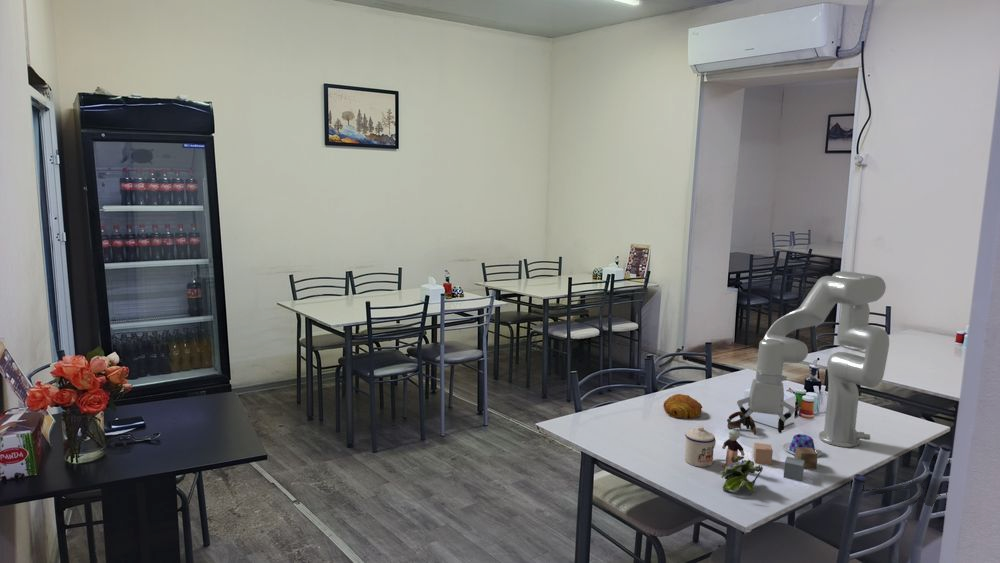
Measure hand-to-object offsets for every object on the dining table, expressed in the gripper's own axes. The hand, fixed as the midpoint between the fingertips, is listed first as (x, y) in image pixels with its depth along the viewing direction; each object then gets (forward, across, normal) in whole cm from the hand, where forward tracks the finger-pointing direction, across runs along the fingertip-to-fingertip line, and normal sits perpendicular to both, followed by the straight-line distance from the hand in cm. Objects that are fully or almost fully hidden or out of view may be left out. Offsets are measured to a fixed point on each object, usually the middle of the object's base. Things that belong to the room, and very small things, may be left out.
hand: (763, 429), depth 205 cm
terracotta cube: (+11, -1, -1) cm, 11 cm away
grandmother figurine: (+11, +9, +8) cm, 17 cm away
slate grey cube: (+11, -9, +8) cm, 16 cm away
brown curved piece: (+11, +3, -27) cm, 29 cm away
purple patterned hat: (+11, -15, -14) cm, 23 cm away
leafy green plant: (+12, +7, +22) cm, 26 cm away
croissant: (+11, +24, -39) cm, 47 cm away
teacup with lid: (+11, +18, +5) cm, 22 cm away
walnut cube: (+10, -14, -2) cm, 17 cm away
